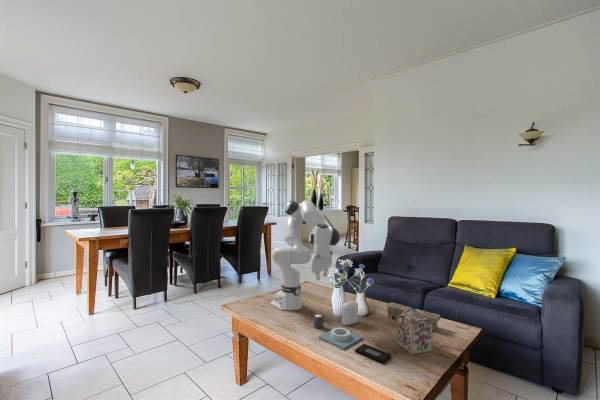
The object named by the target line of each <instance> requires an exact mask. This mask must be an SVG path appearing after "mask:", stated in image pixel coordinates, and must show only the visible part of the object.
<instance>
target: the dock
mask: <svg viewBox="0 0 600 400" xmlns="http://www.w3.org/2000/svg"><path fill="white" fill-rule="evenodd" d="M318 339H319V340H321V341H323V342H326V343H328V344H330V345H332V346H334V347H337V348H338V349H341V350H343V351H345V350H346V349H348V348H349V347H351V346H353V345H355V344H357V343H358V342H360V341H362V340H363V339H364V337H363V336H361V335H359V334H357V333H354V332H351V331H350V330H349V329H347V328H345V327H339V326H338V327H334V328H331V330H329V331H327V332H325V333H324V332H323V334H320V335H318Z"/></svg>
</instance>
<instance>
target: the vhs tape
mask: <svg viewBox="0 0 600 400" xmlns="http://www.w3.org/2000/svg"><path fill="white" fill-rule="evenodd" d="M354 352H355V353H356V354H358V355H360V356H363V357H364V358H367V359H369V360H372V361H374V362H376V363H379V364H381V365H385V364H386V363H387V362H388V361H389V360H391V359H392V354H391V353H388V352H386V351H383V350H380V349H378V348H375V347H373V346H371V345H368V344H366V343H363V344H361V345H360V346H359V347H357V348H355V349H354Z"/></svg>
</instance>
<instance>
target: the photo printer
mask: <svg viewBox="0 0 600 400" xmlns="http://www.w3.org/2000/svg"><path fill="white" fill-rule="evenodd" d="M358 322H359V303H358V302H357V301H355V300H350V301H347V302H345V303H343V304H342V306H341V324H342V325H343V326H349V325H352V324H357V323H358Z"/></svg>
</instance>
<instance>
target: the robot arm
mask: <svg viewBox="0 0 600 400" xmlns="http://www.w3.org/2000/svg"><path fill="white" fill-rule="evenodd" d="M284 213H285V214H286V215H288V216H290V217H289V218H288V219H287V220H286V223H285V227H284V228H285V229H284V241H285V243H286V245H288V246H289V247H288V246H281V247H280V246H279V247H277V248H274V250H273V251H272V255H271V257H272V260H273V262H274V263H275V264H276V265H277V266H278V267H279V269H281V272H282V278H283V279H282V281H283V282H282V283H283V284H281V285H280V288H281V289H280V290H279V291H278V292H276V293H275V294H274V299H273V300H271V301H270V304H271V305H272V306H273V307H275V308H277V309H279V310H280V311H297V310H300V309H302V308H303V301H302V293H301V290H302V285H301V274H300V272H299V270H297V269H296V268H294V267H292V266H291V265H304V264H305V265H306V264H309V263H310V262H311V273H314V275H315V280H316V281H320V280H321V276H320V273H322V272H323V273H322V275H323V277H324V278H325V277H327V276H328V270H329V268H331V267H332V264H333V263H332V261H333V257H332V256H333V251H332V250H331V249H330V248H331V246H337V244H339V242H340V239H341V238H340V237H341V235H340V232H339V231H338V230H337V229H336V227H334V225H333V224H332V222H331V221H330V220H329V218H328V217H327V216H326V215H325V214H323V213H321V212H320V211H319V210H318V209H317V207H316V205H315V204H314V203H313V202H312V201H311V200H309V199H305V200H303V201H302V202H301V203H300V202H299V201H296V200H295V201H294V200H289V201H288V202H286V205H285V206H284ZM302 224H303V225H306V224H308V225H312V226H315V227H314V228H313V229H311V230H309V232H308V234H307V235H308V243H309V244H310V245H311V246H314V247H313V258H312V252H311V250H310V249H309V248H308V247H306V246H305V245H304V244H303V242H302V236H301V234H302V232H301V231H302V228H301V226H302ZM311 260H312V261H311Z"/></svg>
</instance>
